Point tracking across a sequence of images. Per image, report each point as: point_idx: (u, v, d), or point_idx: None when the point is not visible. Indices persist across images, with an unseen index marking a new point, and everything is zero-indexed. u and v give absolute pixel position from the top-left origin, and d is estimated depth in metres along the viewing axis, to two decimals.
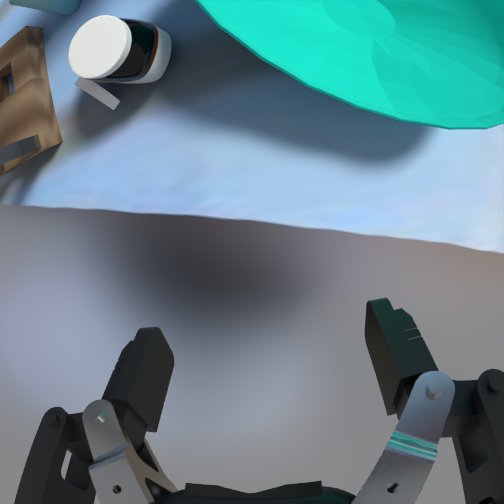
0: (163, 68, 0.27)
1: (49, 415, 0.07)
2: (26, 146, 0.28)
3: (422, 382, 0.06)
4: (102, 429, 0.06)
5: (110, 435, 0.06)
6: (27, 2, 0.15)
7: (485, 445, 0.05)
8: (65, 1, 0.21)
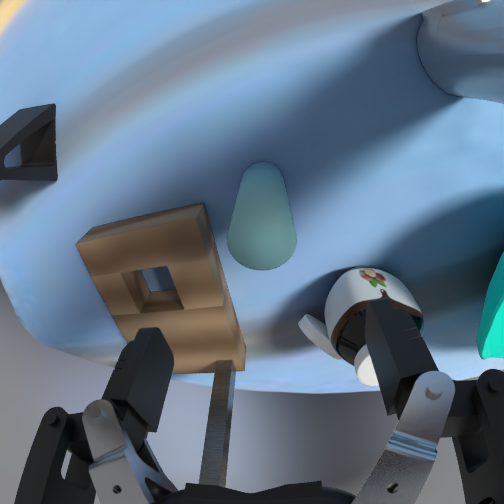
0: None
1: (48, 415, 0.07)
2: (232, 385, 0.32)
3: (422, 382, 0.06)
4: (102, 428, 0.06)
5: (110, 435, 0.06)
6: None
7: (485, 445, 0.05)
8: None
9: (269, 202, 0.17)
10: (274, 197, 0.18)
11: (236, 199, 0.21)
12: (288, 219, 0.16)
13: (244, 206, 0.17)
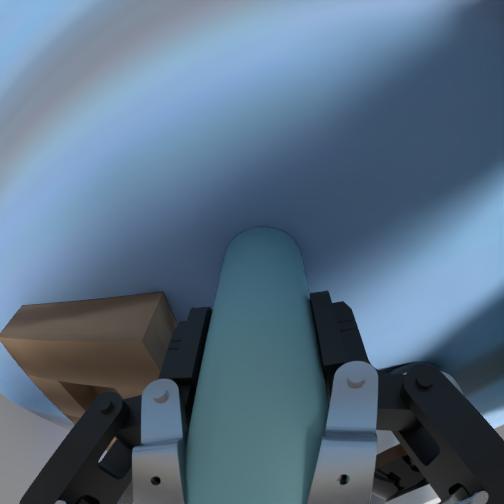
0: None
1: (102, 399, 0.07)
2: None
3: (344, 371, 0.07)
4: (161, 411, 0.07)
5: (179, 414, 0.07)
6: None
7: None
8: None
9: (282, 462, 0.05)
10: (295, 417, 0.06)
11: (203, 359, 0.09)
12: None
13: (210, 465, 0.05)
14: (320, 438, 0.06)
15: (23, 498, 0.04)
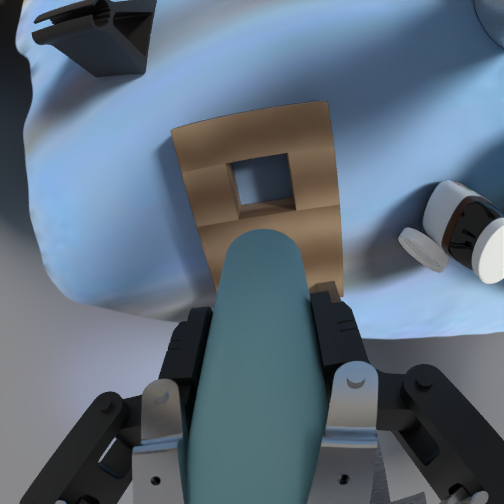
0: None
1: (102, 399, 0.07)
2: None
3: (344, 371, 0.07)
4: (160, 410, 0.07)
5: (179, 414, 0.07)
6: None
7: None
8: None
9: (282, 464, 0.05)
10: (295, 420, 0.06)
11: (204, 361, 0.09)
12: None
13: (211, 466, 0.05)
14: (320, 440, 0.06)
15: (23, 497, 0.04)
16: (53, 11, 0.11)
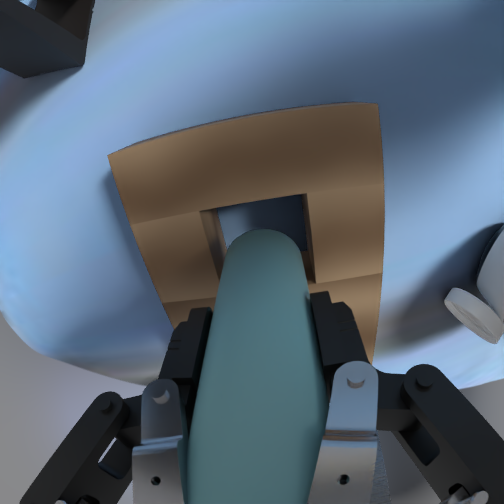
0: None
1: (102, 399, 0.07)
2: None
3: (344, 371, 0.07)
4: (160, 410, 0.07)
5: (179, 414, 0.07)
6: None
7: None
8: None
9: (282, 464, 0.05)
10: (295, 419, 0.06)
11: (204, 361, 0.09)
12: None
13: (212, 466, 0.05)
14: (320, 440, 0.06)
15: (23, 498, 0.04)
16: None
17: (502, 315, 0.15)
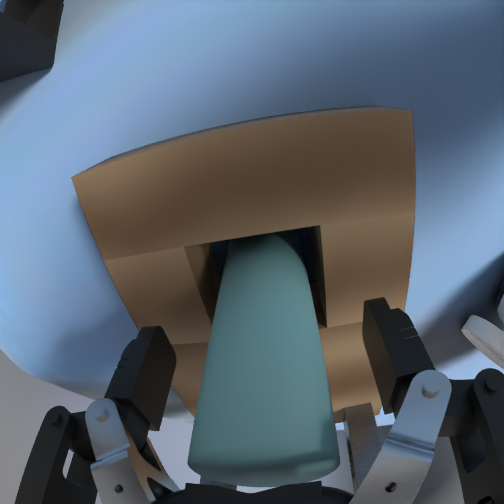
0: None
1: (51, 414, 0.07)
2: None
3: (418, 381, 0.06)
4: (105, 427, 0.06)
5: (113, 434, 0.06)
6: None
7: (483, 444, 0.05)
8: None
9: (284, 406, 0.06)
10: (294, 370, 0.07)
11: (212, 328, 0.10)
12: (329, 447, 0.05)
13: (221, 410, 0.06)
14: (317, 390, 0.07)
15: None
16: None
17: None
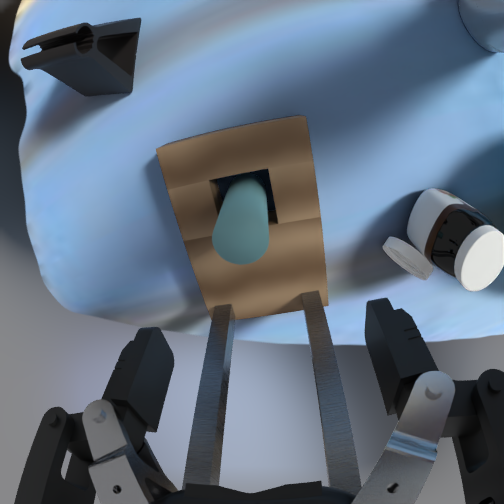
0: None
1: (49, 415, 0.07)
2: None
3: (422, 382, 0.06)
4: (102, 428, 0.06)
5: (110, 435, 0.06)
6: None
7: (485, 445, 0.05)
8: None
9: (246, 208, 0.21)
10: (251, 203, 0.22)
11: None
12: (261, 221, 0.20)
13: (225, 211, 0.21)
14: (259, 210, 0.21)
15: None
16: (40, 37, 0.13)
17: (422, 251, 0.27)
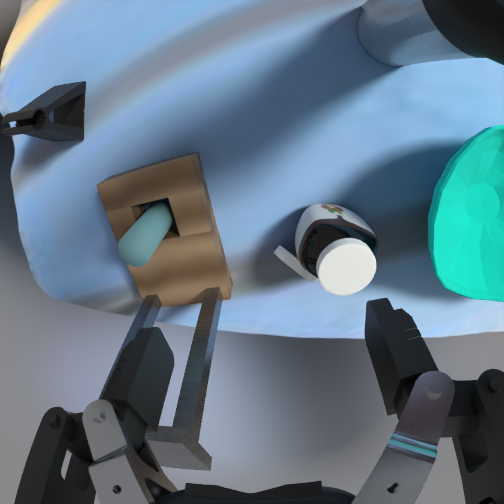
0: None
1: (49, 415, 0.07)
2: (218, 306, 0.40)
3: (422, 382, 0.06)
4: (102, 428, 0.06)
5: (110, 435, 0.06)
6: None
7: (485, 445, 0.05)
8: (169, 227, 0.38)
9: (137, 230, 0.30)
10: (143, 227, 0.31)
11: None
12: (143, 239, 0.30)
13: (125, 233, 0.30)
14: (147, 231, 0.31)
15: None
16: (11, 116, 0.22)
17: (298, 258, 0.36)
